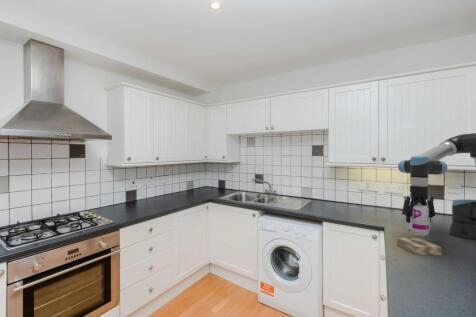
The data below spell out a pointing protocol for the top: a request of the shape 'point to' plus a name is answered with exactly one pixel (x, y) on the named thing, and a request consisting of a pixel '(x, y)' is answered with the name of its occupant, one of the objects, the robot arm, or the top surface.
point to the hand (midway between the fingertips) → (418, 229)
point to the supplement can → (420, 220)
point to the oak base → (419, 246)
